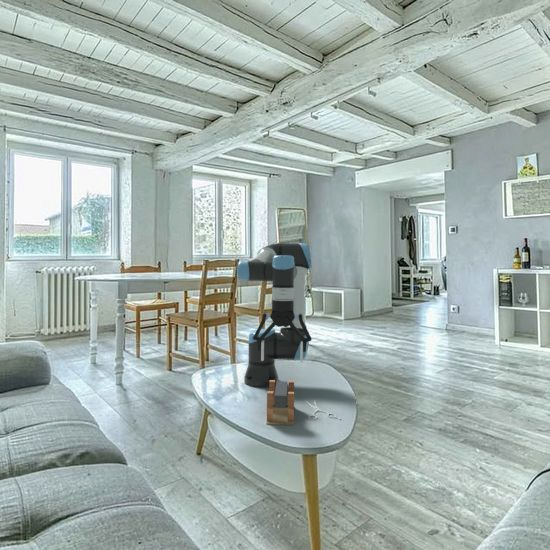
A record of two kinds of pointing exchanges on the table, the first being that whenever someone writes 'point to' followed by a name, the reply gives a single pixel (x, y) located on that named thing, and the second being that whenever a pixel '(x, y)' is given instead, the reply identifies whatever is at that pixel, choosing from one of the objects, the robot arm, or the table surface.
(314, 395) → the table surface
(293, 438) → the table surface
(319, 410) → the white flat branched piece
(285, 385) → the bar
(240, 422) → the table surface
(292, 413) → the wooden ladder frame
